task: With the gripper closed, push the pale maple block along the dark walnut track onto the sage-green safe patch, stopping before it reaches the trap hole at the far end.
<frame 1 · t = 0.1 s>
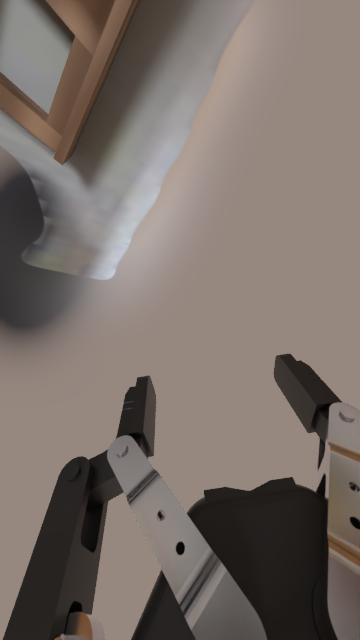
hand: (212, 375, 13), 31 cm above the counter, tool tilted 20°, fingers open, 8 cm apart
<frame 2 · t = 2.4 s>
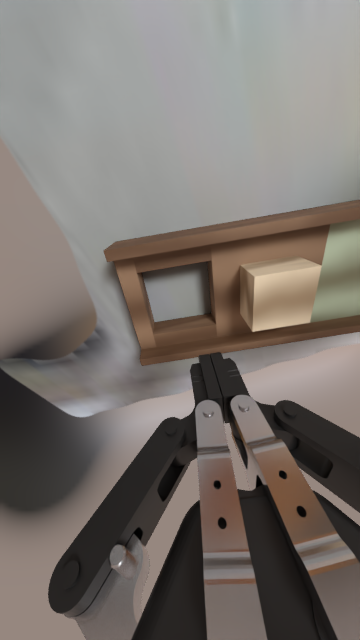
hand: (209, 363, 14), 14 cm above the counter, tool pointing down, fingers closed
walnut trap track: (295, 271, 25), on the counter
maple block: (266, 286, 23), point 3 cm above the counter, touching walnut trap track
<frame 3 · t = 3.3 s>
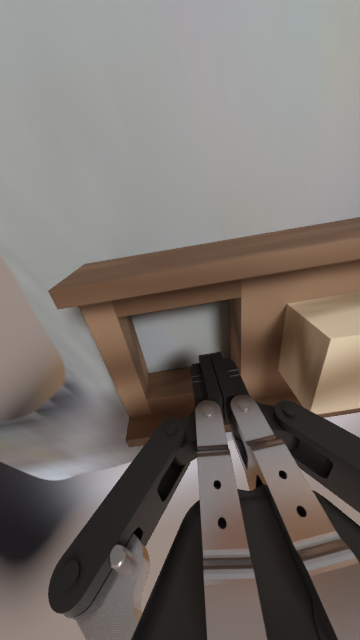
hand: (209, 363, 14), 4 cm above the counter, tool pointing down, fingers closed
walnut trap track: (357, 304, 17), on the counter
maple block: (323, 333, 15), point 3 cm above the counter, touching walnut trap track
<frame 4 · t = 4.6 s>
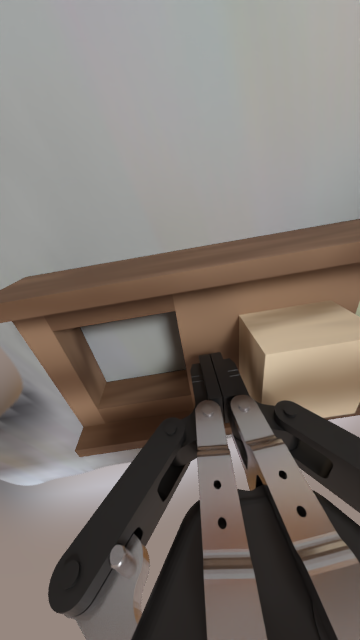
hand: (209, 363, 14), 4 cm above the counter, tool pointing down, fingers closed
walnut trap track: (309, 314, 17), on the counter
maple block: (280, 344, 15), point 3 cm above the counter, touching gripper, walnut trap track
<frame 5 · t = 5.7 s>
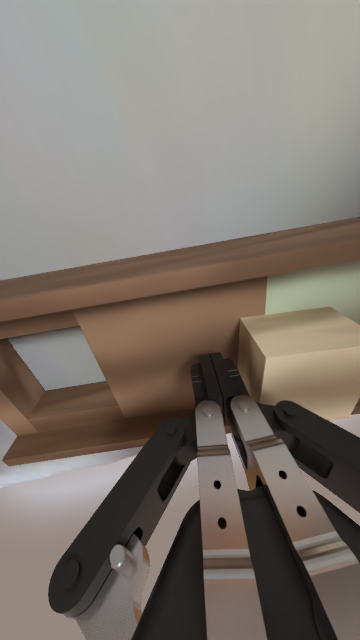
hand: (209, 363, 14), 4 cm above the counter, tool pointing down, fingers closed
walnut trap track: (236, 325, 17), on the counter
maple block: (278, 347, 15), point 3 cm above the counter, touching gripper, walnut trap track
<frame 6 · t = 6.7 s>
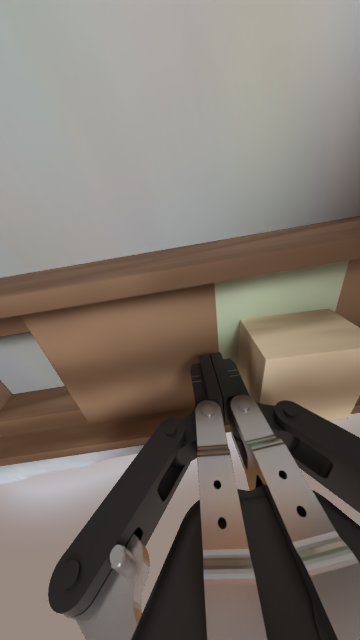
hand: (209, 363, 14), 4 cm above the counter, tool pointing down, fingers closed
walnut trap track: (199, 330, 17), on the counter
maple block: (278, 349, 15), point 3 cm above the counter, touching gripper, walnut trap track
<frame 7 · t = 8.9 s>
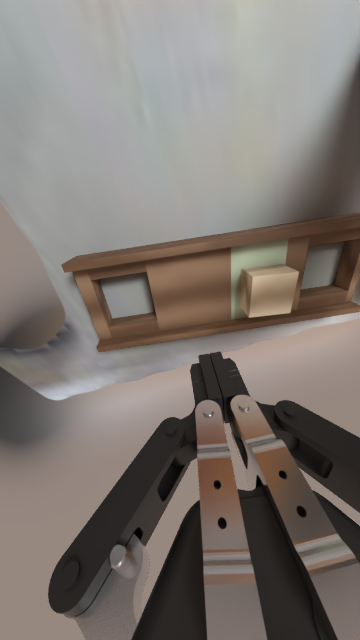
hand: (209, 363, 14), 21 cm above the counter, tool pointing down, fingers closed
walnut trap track: (219, 280, 33), on the counter
maple block: (260, 285, 31), point 3 cm above the counter, touching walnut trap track
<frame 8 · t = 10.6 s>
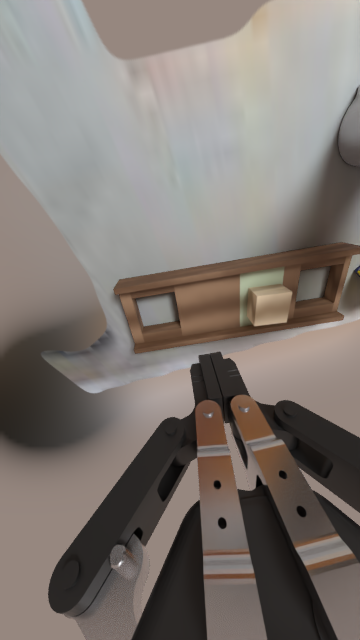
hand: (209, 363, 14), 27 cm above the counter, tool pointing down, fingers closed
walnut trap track: (230, 295, 41), on the counter
maple block: (262, 300, 39), point 3 cm above the counter, touching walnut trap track
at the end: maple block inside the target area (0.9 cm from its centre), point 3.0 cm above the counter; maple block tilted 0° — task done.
